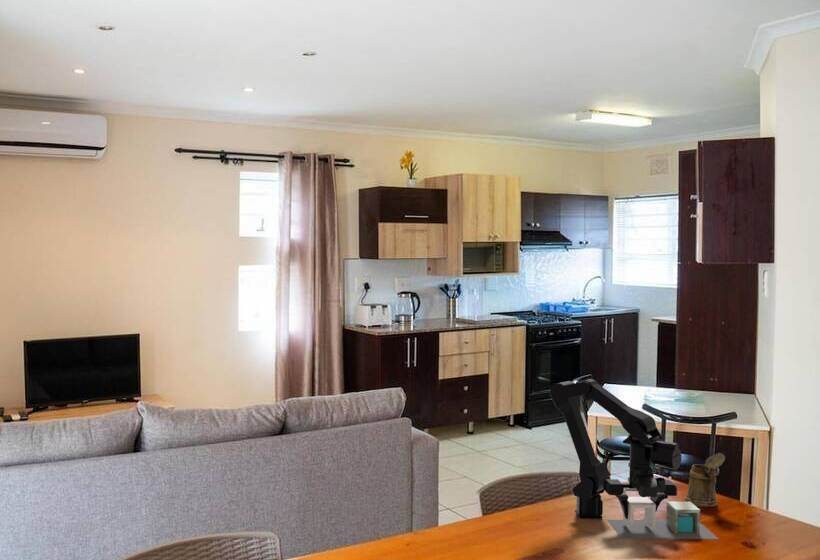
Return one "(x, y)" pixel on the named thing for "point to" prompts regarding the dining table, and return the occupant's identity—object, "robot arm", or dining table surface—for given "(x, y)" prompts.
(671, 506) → the cover
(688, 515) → the cube
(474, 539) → the dining table surface
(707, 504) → the wooden mug
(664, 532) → the mat
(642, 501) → the cover
